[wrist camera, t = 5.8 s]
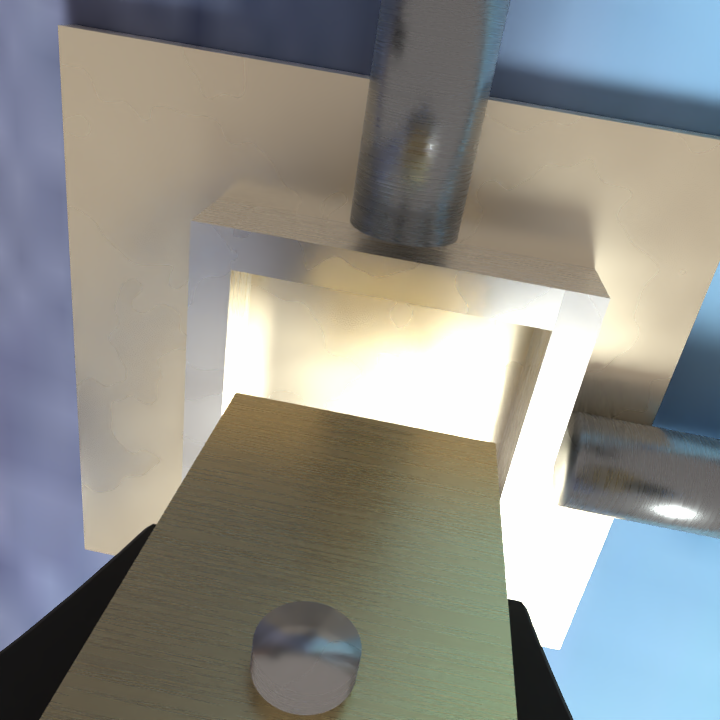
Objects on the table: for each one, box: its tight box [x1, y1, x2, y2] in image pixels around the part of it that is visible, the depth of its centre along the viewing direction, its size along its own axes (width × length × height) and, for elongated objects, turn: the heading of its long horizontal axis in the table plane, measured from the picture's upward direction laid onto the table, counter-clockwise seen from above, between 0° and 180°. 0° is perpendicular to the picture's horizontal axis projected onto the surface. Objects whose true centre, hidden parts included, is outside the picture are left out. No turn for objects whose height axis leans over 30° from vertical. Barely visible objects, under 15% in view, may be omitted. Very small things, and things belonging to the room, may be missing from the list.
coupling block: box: [39, 392, 517, 720], centre depth 9 cm, size 4×5×6 cm
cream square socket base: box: [58, 0, 720, 649], centre depth 14 cm, size 16×15×3 cm
